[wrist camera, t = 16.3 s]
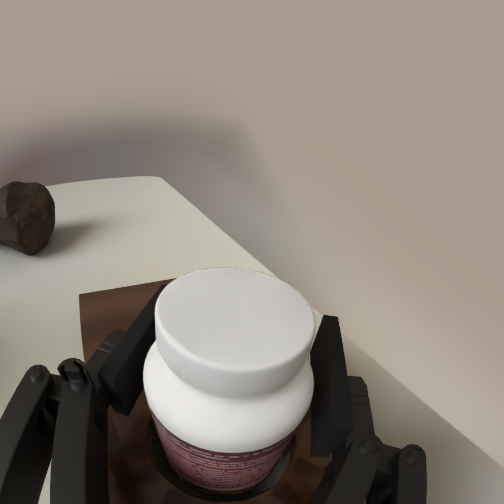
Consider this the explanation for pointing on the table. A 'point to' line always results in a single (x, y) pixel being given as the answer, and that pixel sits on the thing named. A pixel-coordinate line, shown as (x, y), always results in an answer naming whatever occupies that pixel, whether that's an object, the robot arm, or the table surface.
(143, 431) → the plate
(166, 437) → the pill bottle
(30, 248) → the dark brown bone
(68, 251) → the table surface
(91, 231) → the table surface
